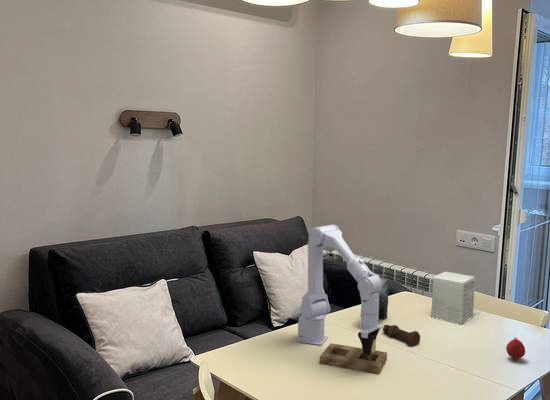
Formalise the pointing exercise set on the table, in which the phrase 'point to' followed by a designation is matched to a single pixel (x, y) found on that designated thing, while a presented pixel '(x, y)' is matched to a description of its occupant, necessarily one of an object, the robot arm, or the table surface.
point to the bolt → (402, 334)
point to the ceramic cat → (383, 299)
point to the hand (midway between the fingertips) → (368, 351)
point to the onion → (515, 349)
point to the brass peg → (372, 355)
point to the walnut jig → (352, 358)
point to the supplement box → (453, 297)
